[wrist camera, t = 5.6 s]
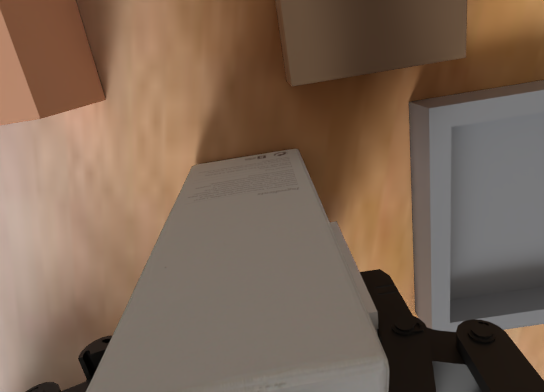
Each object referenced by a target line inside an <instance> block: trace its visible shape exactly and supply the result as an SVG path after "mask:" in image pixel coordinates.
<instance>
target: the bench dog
mask: <svg viewBox="0 0 544 392" xmlns="http://www.w3.org/2000/svg"><path fill="white" fill-rule="evenodd" d="M103 100H106V99H105V96H104V93H103V89H102V86H101V83H100V79H99V76H98V73H97V69H96V66H95V63H94V59H93V56H92V53H91V50H90V46H89V43H88V40H87V36H86V33H85V30H84V26H83V23H82V20H81V16H80V13H79V10H78V6H77V3H76V0H0V125H5V124H11V123H17V122H23V121H30V120H36V119H41V118H45V117H48V116H51V115H55V114H58V113H62V112H65V111H69V110H72V109H76V108H79V107H83V106H86V105H89V104H93V103H96V102H100V101H103Z"/></svg>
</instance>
